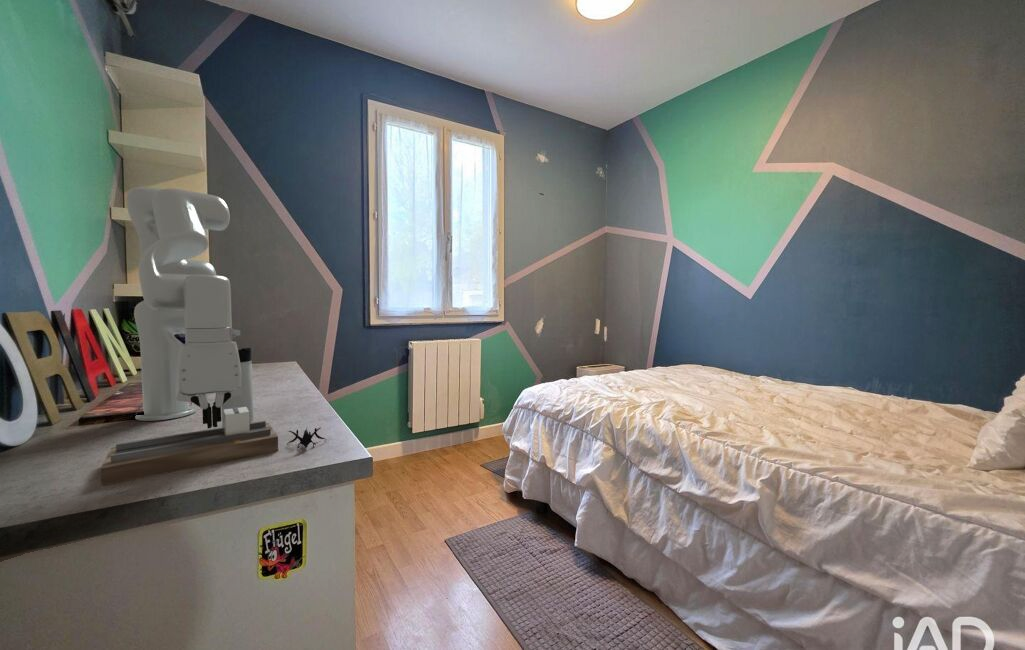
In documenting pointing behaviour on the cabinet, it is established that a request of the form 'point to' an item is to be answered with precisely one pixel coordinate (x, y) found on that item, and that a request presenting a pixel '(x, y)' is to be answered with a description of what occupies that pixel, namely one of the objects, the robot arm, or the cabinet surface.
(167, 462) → the fader console
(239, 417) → the fader tab
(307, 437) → the creature
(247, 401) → the travel mug
